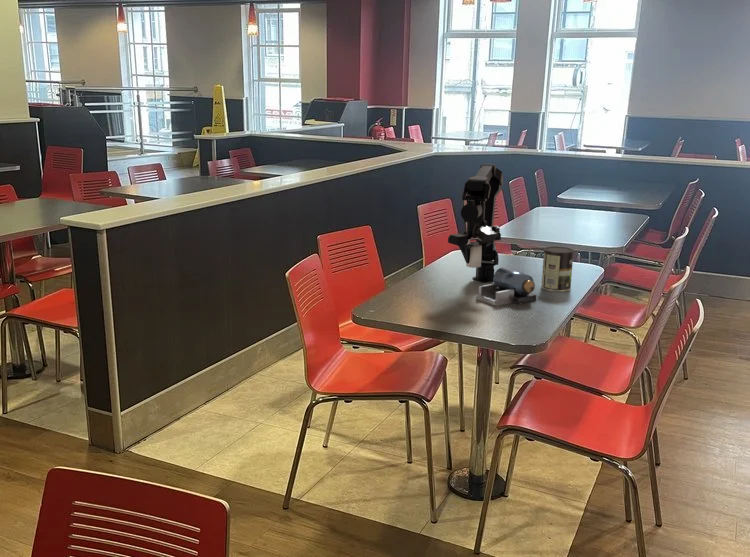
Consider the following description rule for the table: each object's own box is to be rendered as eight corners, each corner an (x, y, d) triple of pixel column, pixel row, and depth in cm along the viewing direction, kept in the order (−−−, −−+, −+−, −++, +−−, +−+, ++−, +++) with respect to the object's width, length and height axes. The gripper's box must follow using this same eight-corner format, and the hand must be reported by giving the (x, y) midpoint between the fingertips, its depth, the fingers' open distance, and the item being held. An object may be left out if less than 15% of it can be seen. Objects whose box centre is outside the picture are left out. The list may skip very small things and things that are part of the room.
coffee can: (569, 285, 250) (572, 247, 247) (571, 293, 241) (575, 253, 237) (540, 283, 252) (543, 245, 249) (541, 291, 243) (544, 251, 239)
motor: (471, 297, 235) (472, 271, 232) (506, 290, 243) (508, 265, 241) (502, 308, 223) (503, 281, 220) (538, 301, 231) (539, 275, 229)
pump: (463, 265, 236) (464, 241, 234) (474, 263, 238) (475, 240, 236) (472, 268, 232) (473, 244, 230) (484, 266, 234) (485, 242, 232)
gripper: (469, 223, 219) (467, 271, 223) (513, 217, 229) (510, 263, 233) (447, 217, 228) (446, 263, 232) (490, 212, 238) (488, 257, 242)
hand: (473, 262), depth 235 cm, fingers closed on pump, 5 cm apart
